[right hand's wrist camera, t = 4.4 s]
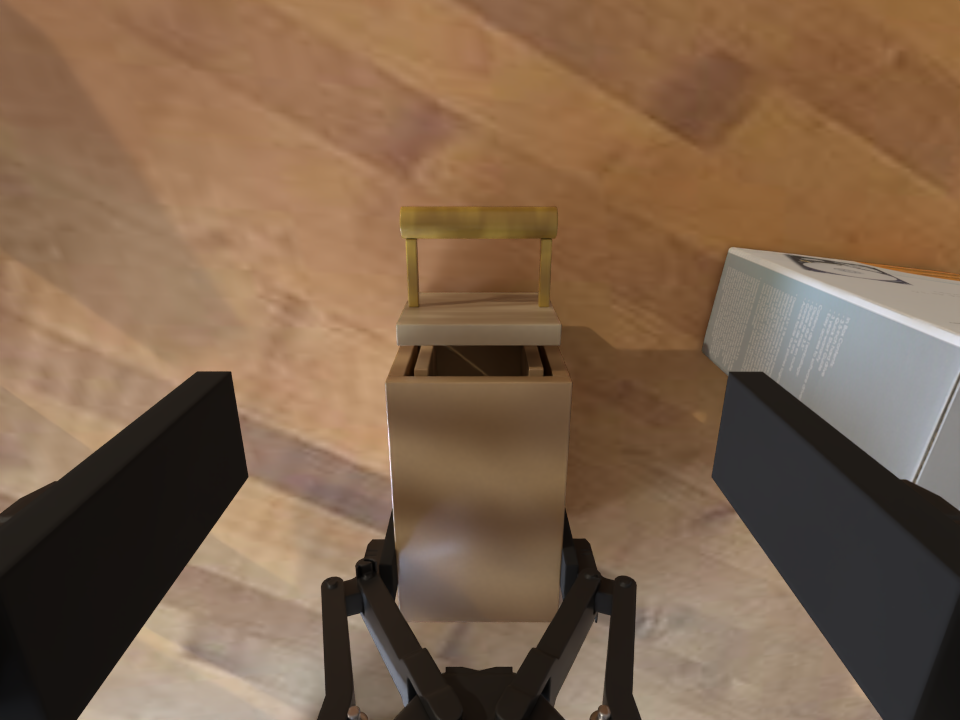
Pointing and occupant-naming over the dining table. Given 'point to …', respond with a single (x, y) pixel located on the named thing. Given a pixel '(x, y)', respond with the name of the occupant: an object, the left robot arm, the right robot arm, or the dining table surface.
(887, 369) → the hard drive box
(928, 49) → the dining table surface
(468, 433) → the cabinet
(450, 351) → the drawer
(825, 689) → the dining table surface
